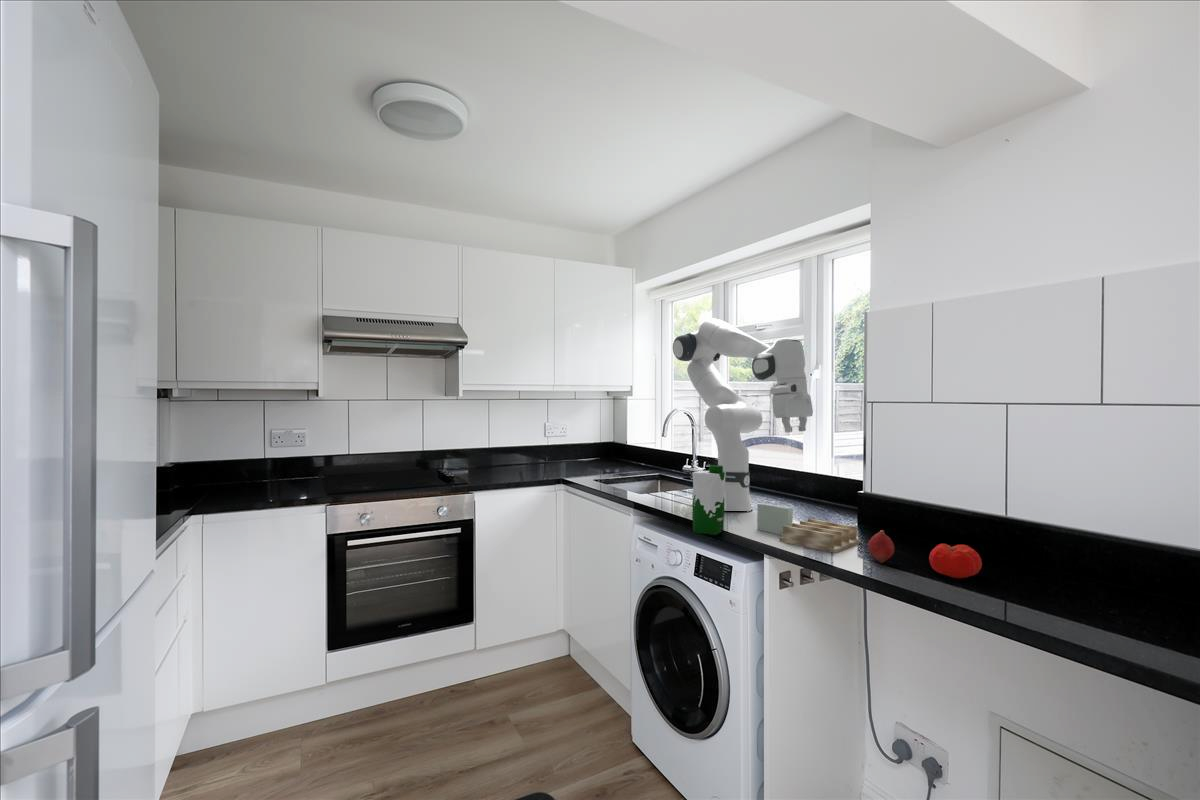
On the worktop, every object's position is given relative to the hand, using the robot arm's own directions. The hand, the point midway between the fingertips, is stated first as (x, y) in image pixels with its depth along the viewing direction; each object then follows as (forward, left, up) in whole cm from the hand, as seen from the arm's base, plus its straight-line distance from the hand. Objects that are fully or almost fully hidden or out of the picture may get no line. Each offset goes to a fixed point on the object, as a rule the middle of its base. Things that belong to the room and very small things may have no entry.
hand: (795, 431), depth 171 cm
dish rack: (+13, -11, -30) cm, 35 cm away
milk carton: (-15, -25, -31) cm, 42 cm away
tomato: (+47, -16, -31) cm, 59 cm away
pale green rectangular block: (-2, -9, -30) cm, 32 cm away
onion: (+32, -19, -31) cm, 48 cm away
